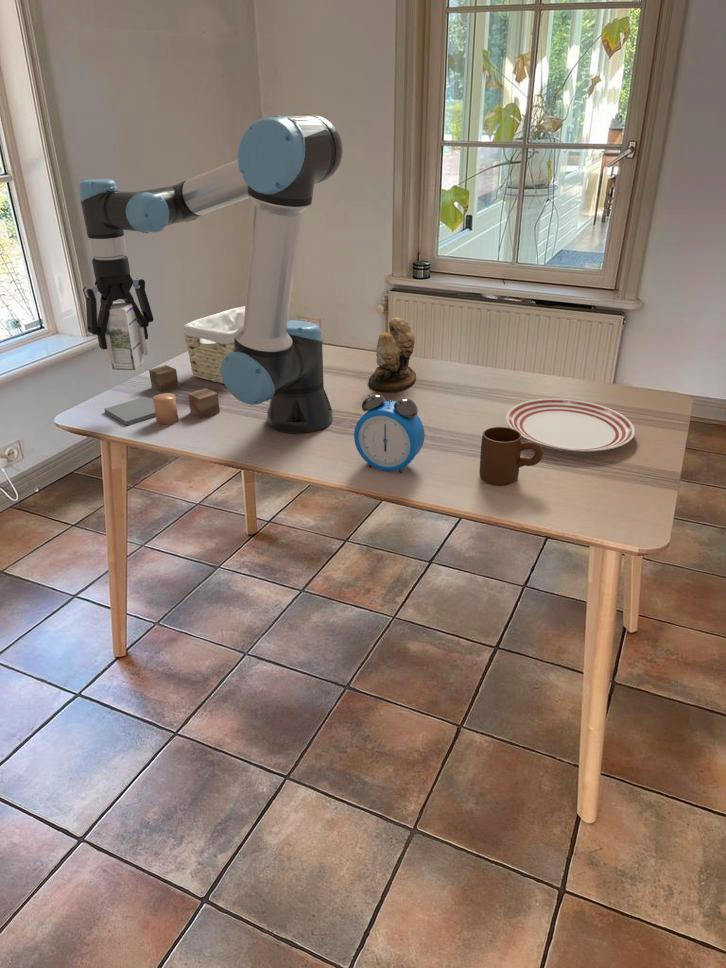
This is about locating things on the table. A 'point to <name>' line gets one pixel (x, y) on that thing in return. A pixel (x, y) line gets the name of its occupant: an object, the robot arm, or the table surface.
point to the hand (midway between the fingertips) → (127, 357)
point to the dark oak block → (163, 378)
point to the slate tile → (133, 411)
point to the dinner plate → (570, 425)
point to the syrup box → (124, 337)
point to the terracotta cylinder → (165, 409)
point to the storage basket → (212, 342)
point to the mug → (505, 455)
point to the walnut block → (204, 403)
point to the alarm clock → (389, 432)
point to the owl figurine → (394, 358)
